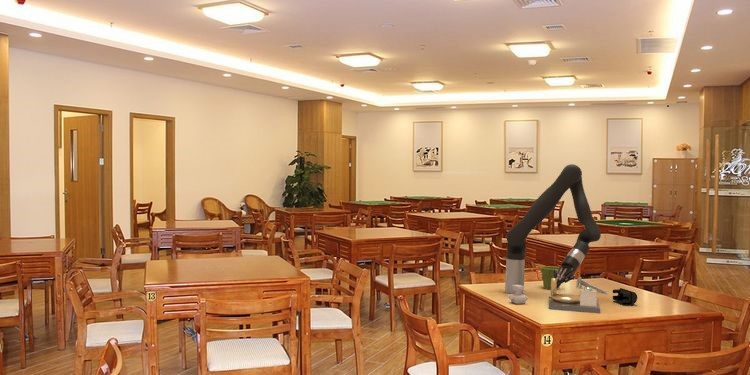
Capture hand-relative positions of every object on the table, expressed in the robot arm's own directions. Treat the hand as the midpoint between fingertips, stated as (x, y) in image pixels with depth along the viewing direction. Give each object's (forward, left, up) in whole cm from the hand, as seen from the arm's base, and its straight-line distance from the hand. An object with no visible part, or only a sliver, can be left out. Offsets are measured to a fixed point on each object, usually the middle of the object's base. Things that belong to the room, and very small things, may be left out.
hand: (554, 287), depth 302 cm
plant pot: (-2, +39, -8) cm, 39 cm away
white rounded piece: (-17, -7, -8) cm, 20 cm away
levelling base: (+8, -5, -7) cm, 12 cm away
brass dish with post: (+5, -2, -5) cm, 8 cm away
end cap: (+32, +12, -8) cm, 35 cm away
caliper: (+19, +41, -8) cm, 46 cm away
